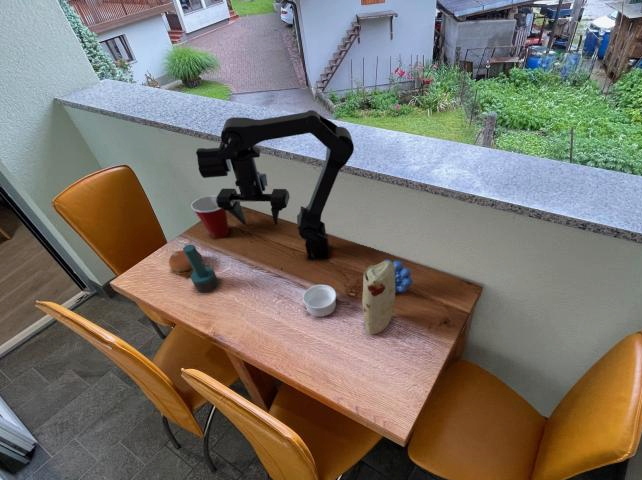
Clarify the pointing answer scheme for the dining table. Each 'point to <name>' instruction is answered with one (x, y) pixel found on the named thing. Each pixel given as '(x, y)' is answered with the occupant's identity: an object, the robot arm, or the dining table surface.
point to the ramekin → (320, 300)
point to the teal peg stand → (200, 271)
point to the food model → (378, 296)
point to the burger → (181, 264)
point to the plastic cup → (211, 216)
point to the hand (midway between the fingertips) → (260, 224)
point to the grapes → (401, 277)
